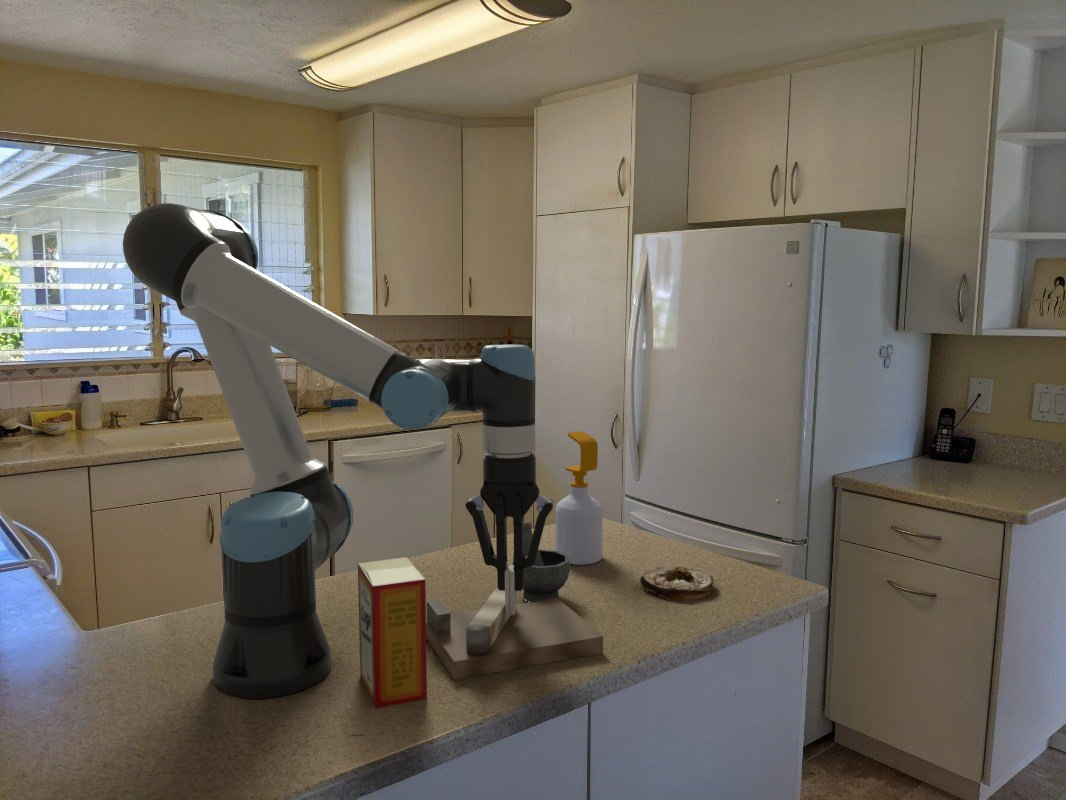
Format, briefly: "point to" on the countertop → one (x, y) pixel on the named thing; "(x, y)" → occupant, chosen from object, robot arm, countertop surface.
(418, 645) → the baking soda box
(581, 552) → the soap bottle
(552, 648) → the stool seat
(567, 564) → the mortar and pestle
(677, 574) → the sushi roll
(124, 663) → the countertop surface
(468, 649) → the hinged leg
